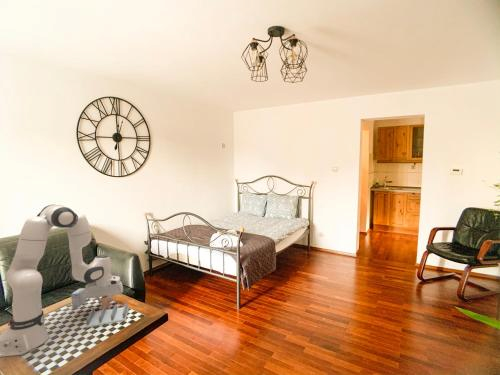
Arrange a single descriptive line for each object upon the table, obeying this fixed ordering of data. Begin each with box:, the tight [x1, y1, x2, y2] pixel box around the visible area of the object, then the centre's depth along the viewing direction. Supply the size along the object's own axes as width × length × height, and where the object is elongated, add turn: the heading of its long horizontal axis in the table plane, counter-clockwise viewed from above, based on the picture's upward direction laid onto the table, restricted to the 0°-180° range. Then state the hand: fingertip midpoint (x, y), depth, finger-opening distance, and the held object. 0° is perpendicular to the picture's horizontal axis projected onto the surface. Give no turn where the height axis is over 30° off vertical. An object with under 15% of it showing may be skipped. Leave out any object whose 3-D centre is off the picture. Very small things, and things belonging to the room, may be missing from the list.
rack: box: [85, 302, 130, 329], centre depth 154 cm, size 20×14×4 cm
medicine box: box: [70, 287, 88, 308], centre depth 170 cm, size 8×4×9 cm, turn 178°
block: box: [100, 295, 111, 310], centre depth 166 cm, size 3×8×7 cm, turn 17°
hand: (105, 302), depth 166 cm, fingers open, 4 cm apart
